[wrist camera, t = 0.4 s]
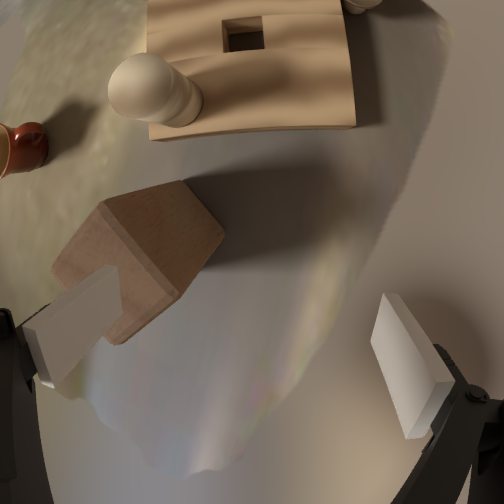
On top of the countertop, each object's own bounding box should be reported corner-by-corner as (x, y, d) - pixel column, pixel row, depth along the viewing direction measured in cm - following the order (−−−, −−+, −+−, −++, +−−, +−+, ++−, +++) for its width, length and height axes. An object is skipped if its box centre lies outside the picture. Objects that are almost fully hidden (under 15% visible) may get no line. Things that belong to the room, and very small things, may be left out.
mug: (28, 182, 43) (-13, 191, 33) (17, 139, 40) (-24, 142, 31) (72, 151, 40) (28, 153, 31) (60, 104, 38) (17, 99, 28)
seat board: (161, -5, 32) (113, -57, 17) (327, -22, 29) (342, -89, 14) (164, 141, 39) (100, 137, 24) (347, 129, 36) (386, 112, 21)
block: (182, 176, 40) (100, 195, 21) (230, 233, 42) (184, 296, 23) (134, 223, 43) (44, 270, 24) (178, 275, 44) (113, 353, 25)
